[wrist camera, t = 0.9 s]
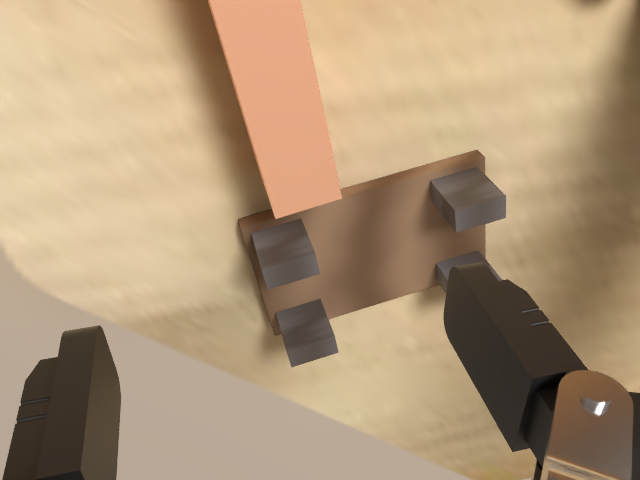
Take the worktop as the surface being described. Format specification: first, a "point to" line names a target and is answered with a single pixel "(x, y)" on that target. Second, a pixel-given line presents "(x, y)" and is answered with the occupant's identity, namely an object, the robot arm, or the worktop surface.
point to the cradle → (369, 247)
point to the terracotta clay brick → (279, 100)
